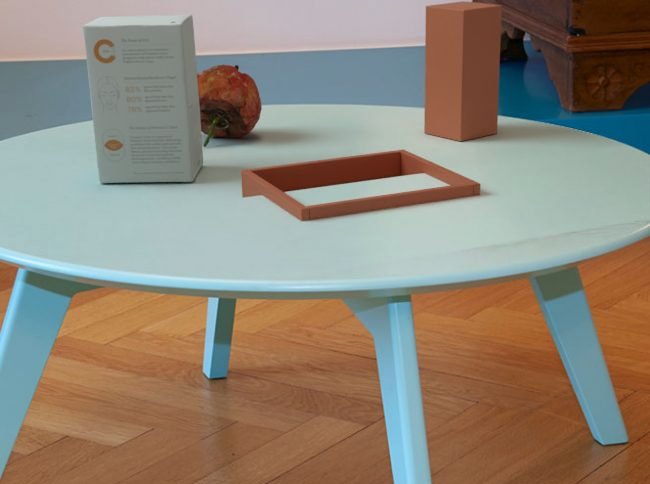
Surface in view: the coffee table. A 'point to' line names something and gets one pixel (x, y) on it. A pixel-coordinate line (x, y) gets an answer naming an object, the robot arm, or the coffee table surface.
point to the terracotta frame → (349, 171)
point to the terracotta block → (462, 69)
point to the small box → (144, 98)
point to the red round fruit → (227, 102)
